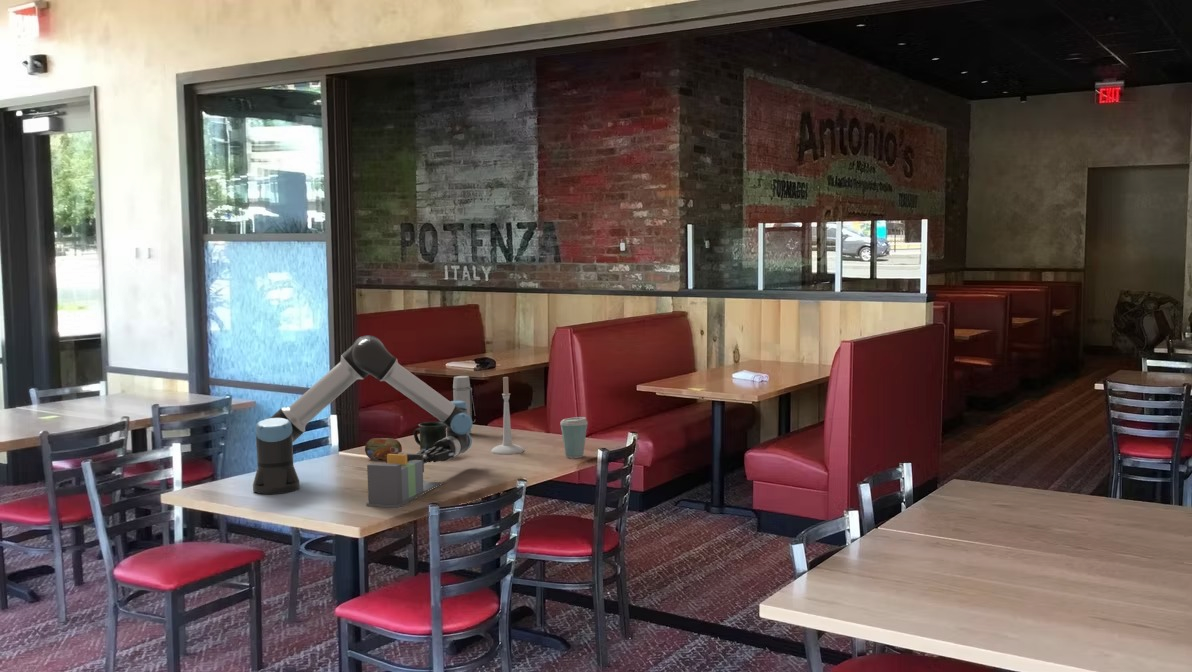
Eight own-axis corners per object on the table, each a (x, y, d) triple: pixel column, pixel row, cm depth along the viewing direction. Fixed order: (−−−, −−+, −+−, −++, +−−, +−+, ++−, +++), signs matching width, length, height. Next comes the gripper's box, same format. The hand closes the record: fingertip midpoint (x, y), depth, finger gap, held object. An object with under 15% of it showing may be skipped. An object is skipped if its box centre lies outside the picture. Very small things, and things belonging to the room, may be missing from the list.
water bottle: (454, 435, 440) (452, 378, 438) (454, 432, 448) (453, 376, 446) (475, 435, 441) (473, 377, 439) (475, 431, 449) (474, 375, 447)
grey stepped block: (412, 483, 352) (411, 445, 351) (441, 484, 349) (440, 447, 347) (366, 505, 321) (364, 465, 320) (398, 507, 318) (396, 466, 317)
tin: (364, 459, 393) (364, 438, 393) (369, 458, 396) (368, 436, 396) (399, 461, 389) (398, 439, 388) (403, 459, 392) (402, 438, 391)
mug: (437, 457, 394) (436, 427, 393) (406, 454, 401) (405, 424, 400) (453, 452, 404) (452, 422, 403) (423, 449, 411) (422, 420, 410)
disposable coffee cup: (560, 459, 386) (559, 420, 385) (560, 454, 397) (559, 416, 395) (588, 459, 386) (587, 420, 385) (588, 453, 397) (587, 415, 396)
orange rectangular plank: (389, 462, 331) (389, 453, 330) (407, 463, 329) (407, 454, 329) (387, 463, 329) (386, 454, 329) (405, 464, 327) (404, 455, 327)
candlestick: (496, 447, 412) (494, 374, 409) (527, 448, 410) (525, 374, 407) (487, 454, 399) (485, 378, 397) (519, 454, 397) (517, 378, 395)
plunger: (407, 471, 343) (406, 446, 342) (424, 472, 341) (423, 447, 340) (383, 482, 326) (382, 456, 326) (400, 483, 325) (399, 457, 324)
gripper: (463, 460, 363) (434, 474, 340) (429, 458, 366) (398, 472, 344) (462, 439, 362) (433, 452, 340) (429, 437, 366) (398, 450, 343)
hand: (416, 462), depth 342 cm, fingers closed
